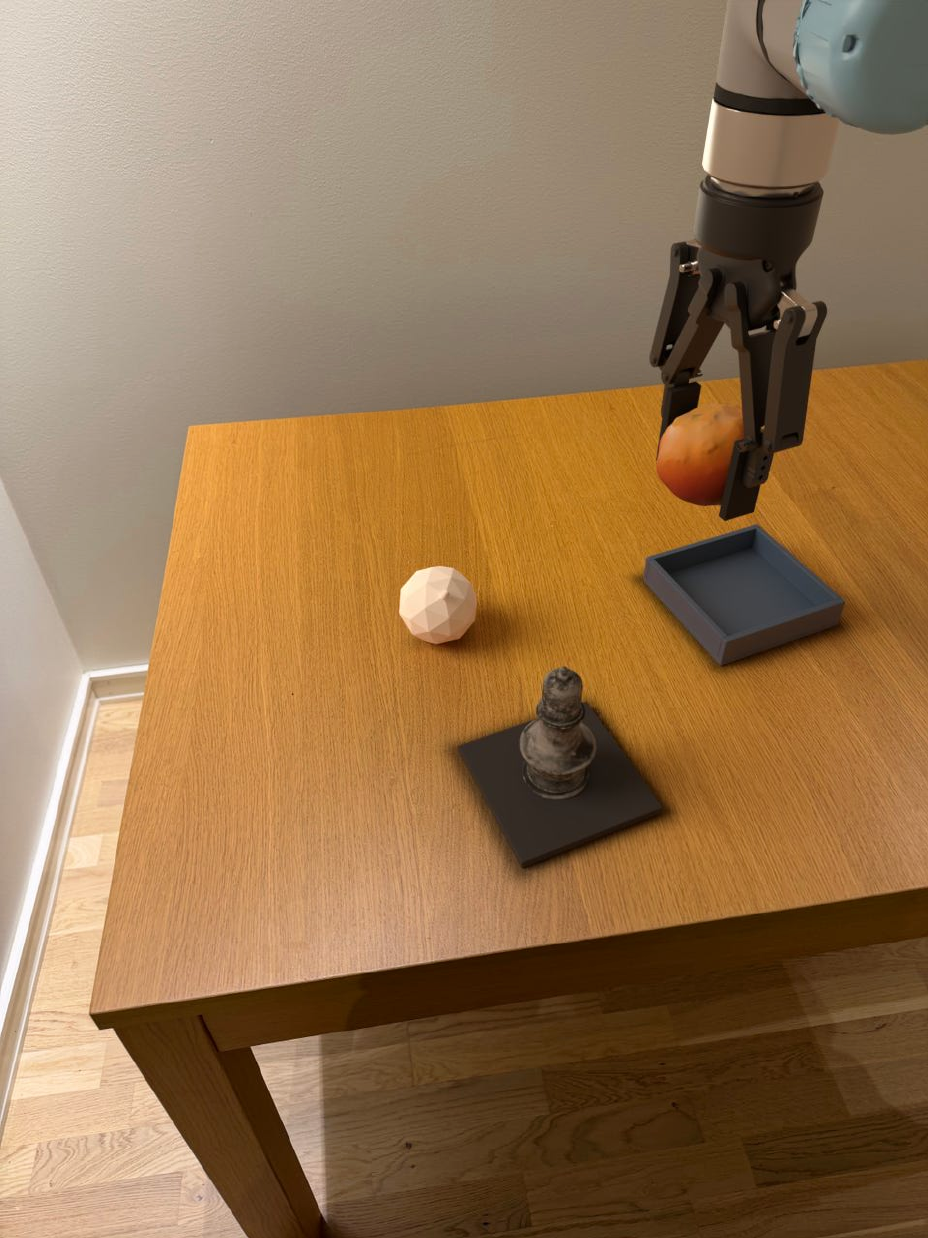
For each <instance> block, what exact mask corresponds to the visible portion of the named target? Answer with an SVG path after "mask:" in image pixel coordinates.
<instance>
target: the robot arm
mask: <svg viewBox="0 0 928 1238" xmlns="http://www.w3.org/2000/svg"><path fill="white" fill-rule="evenodd" d="M721 37H722V38H721V44H720V51H719V56H718V57H719V58H718V63H717V71H716V78H715V86H714V91H713V97H712V101H711V106H710V112H709V118H708V124H707V129H706V130H707V131H706V137H705V144H704V150H703V156H702V162H701V165H702V167H703V170H704V172H705V173H706V174H707V175H706V176H705V177H704V178H703V179H702V180H701V181H700V183H699V188H698V193H697V201H696V208H695V214H694V222H693V227H692V228H693V229H692V234H693V238H694V239H693V238H692V239H688V240H683V241H678V242H673V243H672V244H671V246H670V252H669V253H670V254H669V255H670V256H669V276H668V280H667V284H666V288H665V292H664V296H663V301H662V305H661V308H660V313H659V317H658V320H657V324H656V327H655V333H654V336H653V341H652V344H651V348H650V352H649V357H648V359H649V364H650V365H651V367H652V368H658V369H659V370H660V371H661V373H660V378H661V381H662V383H663V385H664V387H663V394H662V400H661V407H660V417H661V425H660V431H659V436H658V445H657V451H656V456H655V457H656V458H655V461H656V462H657V458H658V454H659V444H660V440H661V438H662V436H663V434H664V433H665V431H666V429H667V428H668V426H670V425H671V424H672V423H673V422H674V420H675V419H676V418H677V417H679V416H682V415H684V414H686V413H688V412H690V411H692V410H693V409H695V408H698V407H699V402H700V397H701V396H700V395H701V389H702V385H701V384H700V383H698V382H697V381H696V380H694V381H691V382H690V380H692V379H695V378H701V377H703V373H702V370H701V369H700V368H701V366H702V365H703V364H704V361H705V359H706V358H707V356H708V354H709V352H710V350H711V348H712V347H713V345H714V343H715V341H716V340H717V338H718V336H719V335H720V333H721V331H722V329H723V327H724V326H725V325H726V327H728V329H729V330H730V343H731V347H732V349H734V350H736V351H737V354H738V368H739V383H740V399H741V408H742V415H743V429H744V439H741V440H738V441H735V442H734V447H733V452H732V456H731V461H730V466H729V470H728V475H727V479H726V484H725V489H724V493H723V498H722V503H721V505H720V508H719V513H718V517H719V518H720V519H721V520H722V521H724V522H727V521H730V520H733V519H737V518H739V517H743V516H746V515H750V514H753V513H754V512H755V510H756V506H757V502H758V497H759V494H760V489H761V486H762V485H764V484H765V483H766V482H767V481H768V479H769V475H770V471H771V467H772V464H773V460H774V455H775V453H780V452H783V451H786V450H790V449H793V448H797V447H799V446H801V445H802V444H803V441H804V435H805V429H806V422H807V421H806V420H807V414H808V405H809V399H810V398H809V397H810V392H811V391H810V390H811V385H812V384H811V383H812V377H813V368H814V360H815V353H816V346H817V339H818V336H819V334H820V331H821V329H822V327H823V324H824V322H825V320H826V318H827V316H828V315H827V314H828V307H827V304H826V303H825V301H823V300H817V301H813V302H809V301H807V299H806V298H804V297H803V296H802V295H801V294H799V292H797V287H798V286H797V285H798V283H797V264H798V261H799V260H800V258H801V257H802V256H803V254H804V253H805V252H806V250H807V249H808V248H809V247H810V246H811V244H812V242H813V240H814V236H815V230H816V227H817V223H818V220H819V219H818V218H819V215H820V210H821V205H822V202H823V197H824V193H825V192H824V188H823V187H822V185H821V183H820V181H821V180H823V179H824V178H825V177H827V175H828V174H829V170H830V165H831V161H832V157H833V153H834V150H835V145H836V140H837V137H838V133H839V128H840V124H841V123H843V124H844V125H846V126H850V127H854V128H857V129H861V130H864V131H866V132H869V133H873V134H879V135H886V136H887V135H890V136H894V135H903V134H909V133H913V132H916V131H918V130H922V129H923V128H924V127H926V126H928V0H727V2H726V8H725V16H724V22H723V28H722V36H721ZM762 328H765V330H763V331H761V332H756V333H751V334H749V332H752V331H756V330H760V329H762ZM670 345H671V347H668V346H670Z"/></svg>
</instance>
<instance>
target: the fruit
mask: <svg viewBox="0 0 928 1238" xmlns="http://www.w3.org/2000/svg"><path fill="white" fill-rule="evenodd" d="M741 439H744V429H743V415H742V406H739V405H737V404H731V405H730V404H725V403H718V402H717V403H712V402H711V403H708V404H705V405H701V406H698V407H697V408H695V409H693V410H692V411H690V412H688V413H686V414H684V415H682V416H679V417H677V418H676V419H675V420H674V422H673V423H672V424H671V425H670V426H668V428H667V429H666V431H665V433H664V434H663V436H662V438H661V440H660V444H659V454H658V458H657V461H656V474H657V476H658V478H659V480H660V481H661V482H662V484H663V485H664V486H665V487H666V488H667V489H668V490H669V491H670V493H671V494H673V496H675V497H676V498H678V499H679V500H681V501H683V502H686V503H689V504H692V505H695V506H702V507H708V506H721V503H722V498H723V493H724V489H725V484H726V479H727V475H728V470H729V466H730V461H731V456H732V452H733V447H734V442H735V441H738V440H741Z"/></svg>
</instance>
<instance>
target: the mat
mask: <svg viewBox="0 0 928 1238" xmlns="http://www.w3.org/2000/svg"><path fill="white" fill-rule="evenodd" d="M582 703H583V705H584V707H585V716H584V719H583V720H582V722H581V723H583V724H584V725H586V726H587V727H588V729H589V730H590V731H591V732H592V734H593V736H594V738H595V740H596V752H595V756H594V758H593V760H592V761H591V763H590V764H589V765H588V771H589V778H588V782H587V784H586V786H585V787H584V789H583V790H582V791H581V792H580V793H579V794H577V795H575V796H573V797H571V798H567V799H563V800H552V799H548V798H544V797H542V796H539V795H537V794H536V793H534V792H533V791H532V790H530V789H529V787H528V786H527V785H526V783H525V781H524V779H523V776H522V767H523V764H524V761H525V758H524V757H523V755H522V753H521V750H520V737H521V734H522V732H523V730H524V729H525V727H526V726H527V725H528V724H530V723H531V722H532V721H534V720H536V719H538V717H537V718H535V719H532V720H529V721H526V722H523V723H520V724H517V725H514V726H511V727H508V728H506V729H503V730H500V731H496V732H494V733H491V734H489V735H485V736H483V737H480V738H477V739H473V740H471V741H468V742H465V743H462V744H459V745H458V748H457V749H458V751H457V752H458V754H459V755H460V757H461V759H462V761H463V763H464V764H465V766H466V768H467V770H468V772H469V774H470V775H471V777H472V779H473V782H474V783H475V785H476V786H477V789H478V791H479V792H480V795H481V796H482V798H483V800H484V801H485V803H486V805H487V808H488V809H489V811H490V812H491V814H492V816H493V818H494V820H495V821H496V824H497V825H498V827H499V829H500V831H501V833H502V834H503V836H504V838H505V840H506V842H507V843H508V846H509V847H510V849H511V851H512V853H513V855H514V857H515V858H516V860H517V862H518V864H519V866H520V868H521V869H523V868H526V867H529V866H532V865H534V864H537V863H539V862H542V861H543V860H546V859H549V858H551V857H554V856H556V855H559V854H561V853H564V852H566V851H569V850H572V849H574V848H576V847H580V846H581V845H584V844H586V843H590V842H592V841H594V840H597V839H599V838H602V837H605V836H607V835H610V834H613V833H615V832H618V831H619V830H623V829H625V828H627V827H631V826H632V825H635V824H637V823H640V822H643V821H645V820H648V819H650V818H653V817H656V816H658V815H661V814H662V813H663V805H662V804H661V803H660V801H659V800H658V799H657V797H656V796H655V794H654V792H652V790H651V789H650V788H649V786H648V784H647V783H646V782H645V780H644V779H643V778H642V777H641V775H640V774H639V772H638V771H637V769H636V768H635V766H634V765H633V764H632V762H631V761H630V760H629V758H628V756H627V755H626V754H625V752H623V749H622V748H621V747H620V746H619V744H618V743H617V742H616V741H615V740H616V739H615V738H614V737H613V735H611V733H610V732H609V730H608V729H607V727H606V726H605V725H604V723H603V722H602V721H601V719H600V718H599V717H598V715H597V713H596V712H595V711H594V710H593V708H592V707H591V706H590V704H589V703H588V701H583V702H582Z"/></svg>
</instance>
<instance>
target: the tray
mask: <svg viewBox="0 0 928 1238" xmlns="http://www.w3.org/2000/svg"><path fill="white" fill-rule="evenodd" d="M643 570H644V571H643V577H642V582H644V584H645V585H646V586H647V587H648V589H650V590H651V592H653V593H654V595H655V596H656V597H657V598H658V599H659V600H660V601H661V602H662V604H663V605H664V606H665V607H666V608H667V610H668V611H670V613H672V615H673V616H674V617H675V618H676V619H677V620H678V621H679V622H680V623H681V625H682V626H683V627H684V628H685V629H686V630H687V631H688V632H689V633H690V634H691V635H692V636H693V638H694V639H695V640H696V641H697V642H698V644H700V646H701V647H703V649H704V650H705V651H706V652H707V654H709V655H710V656H711V657H712V658H713V660H714V661H715V662H716V663H717V664H718V666H720V667H721V666H724V665H727V664H730V663H733V662H736V661H738V660H742V659H745V658H748V657H750V656H754V655H756V654H758V653H759V654H760V653H761V652H765V651H768V650H770V649H773V648H776V647H778V646H782V645H784V644H787V643H790V642H794V641H796V640H799V639H801V638H805V637H807V636H810V635H813V634H816V633H819V632H821V631H824V630H828V629H830V628H833V627H836V626H838V624H839V622H840V619H841V617H842V613H843V610H844V608H845V606H846V602H847V600H845V599H844V598H843V597H841V596H840V595H839V594H838V593H837V592H836V591H835V590H834V589H832V588H831V587H830V585H828V584H827V583H825V581H824V580H822V579H821V578H820V577H818V576H817V575H816V573H814V572H813V571H812V570H810V568H808V567H807V566H806V565H805V564H804V563H803V562H802V561H801V560H799V559H798V558H797V557H796V556H795V555H793V554H792V553H791V552H790V551H789V550H787V548H786V547H784V546H783V545H782V543H780V542H779V541H778V540H777V539H776V538H774V537H773V536H772V535H770V533H768V532H767V531H766V530H765V529H764V528H763V527H762V526H760V524H758V523H755V524H753V525H749V526H746V527H742V528H739V529H736V530H733V531H729V532H725V533H722V534H719V535H716V536H713V537H709V538H706V539H702V540H698V541H696V542H693V543H689V544H686V545H682V546H679V547H676V548H673V549H669V550H666V551H662V552H659V553H656V554H653V555H649V556H646V558H645V563H644V569H643Z"/></svg>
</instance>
